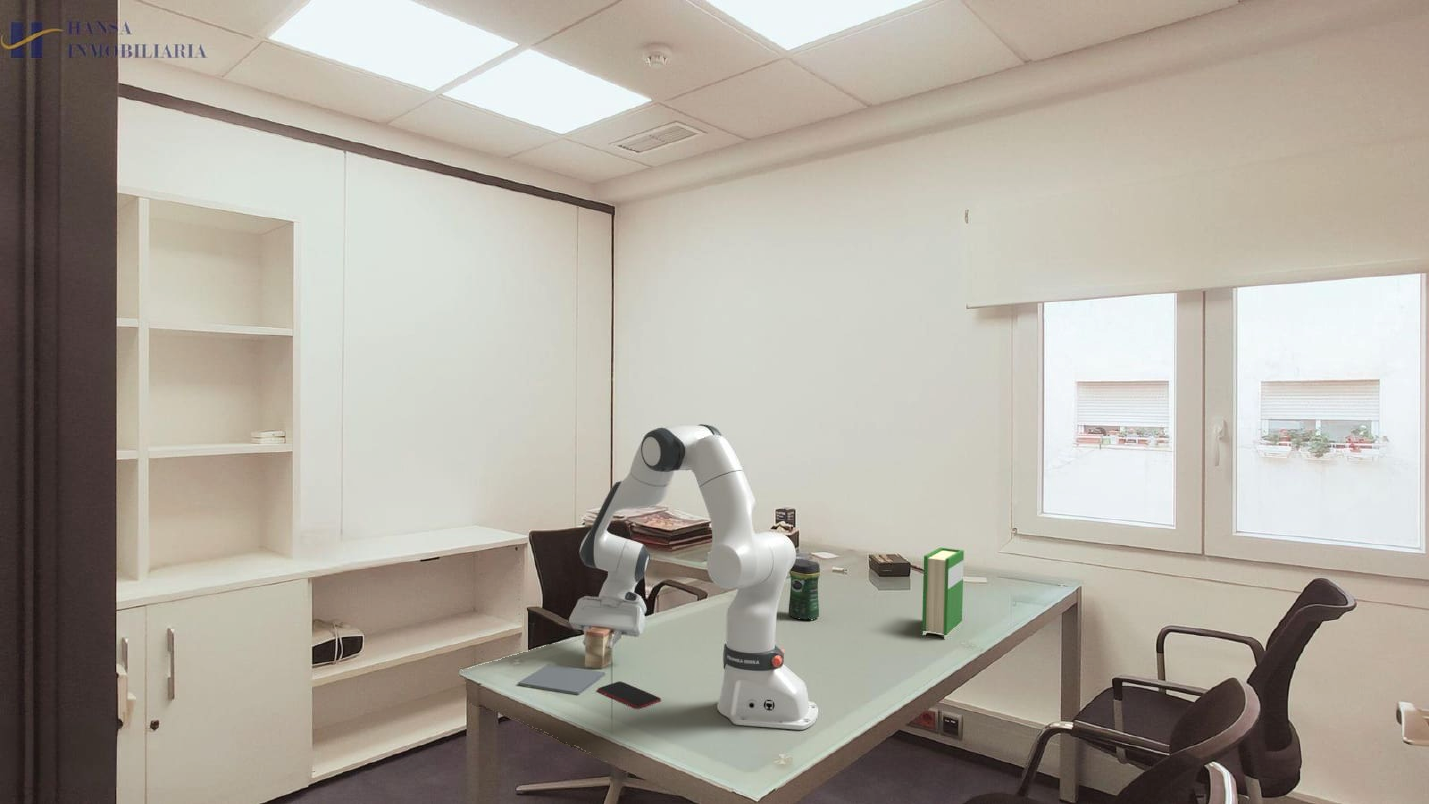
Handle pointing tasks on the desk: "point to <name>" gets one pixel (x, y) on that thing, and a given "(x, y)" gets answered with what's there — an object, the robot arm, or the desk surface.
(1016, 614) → the desk surface
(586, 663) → the beech block
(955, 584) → the hardback book
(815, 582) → the coffee jar
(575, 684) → the rubber mat
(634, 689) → the smartphone
